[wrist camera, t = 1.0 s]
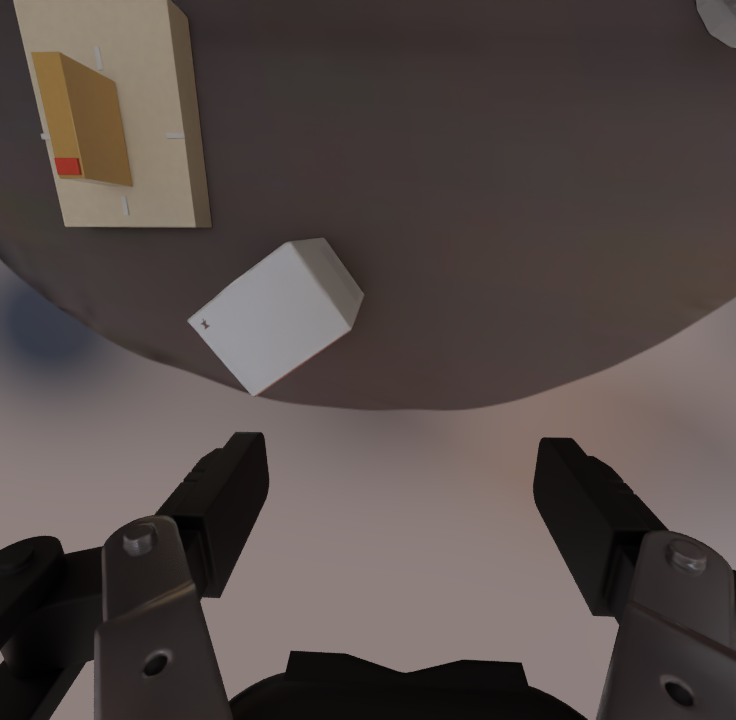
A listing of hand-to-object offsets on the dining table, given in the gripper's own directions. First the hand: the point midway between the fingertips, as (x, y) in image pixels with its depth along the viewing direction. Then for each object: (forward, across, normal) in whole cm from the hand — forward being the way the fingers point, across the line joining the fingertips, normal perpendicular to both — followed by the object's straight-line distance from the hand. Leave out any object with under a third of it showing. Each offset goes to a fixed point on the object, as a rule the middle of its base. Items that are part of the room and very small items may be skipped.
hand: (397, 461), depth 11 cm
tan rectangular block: (+22, +21, -13) cm, 34 cm away
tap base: (+25, +21, -14) cm, 36 cm away
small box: (+25, +8, -1) cm, 26 cm away
